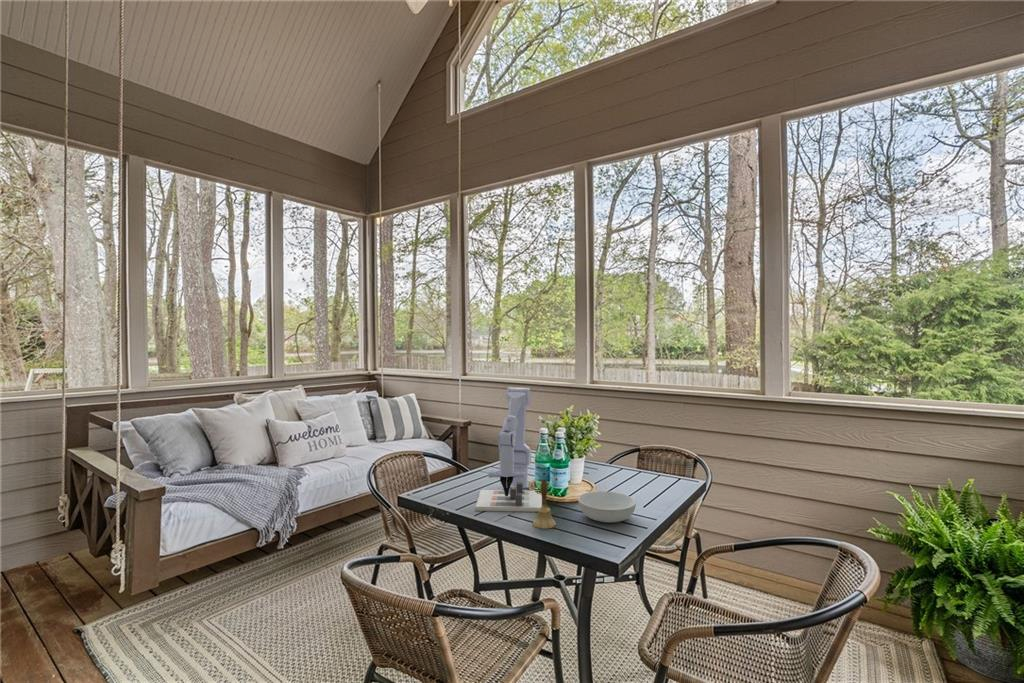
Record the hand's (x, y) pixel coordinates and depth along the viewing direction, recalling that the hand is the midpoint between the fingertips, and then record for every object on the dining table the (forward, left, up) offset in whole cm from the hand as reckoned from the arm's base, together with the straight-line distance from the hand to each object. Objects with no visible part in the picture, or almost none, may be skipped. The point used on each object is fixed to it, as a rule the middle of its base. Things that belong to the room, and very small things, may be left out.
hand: (506, 495), depth 191 cm
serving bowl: (+15, +37, -3) cm, 41 cm away
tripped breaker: (0, +3, -1) cm, 3 cm away
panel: (0, +1, -3) cm, 3 cm away
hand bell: (+22, +14, -3) cm, 27 cm away
